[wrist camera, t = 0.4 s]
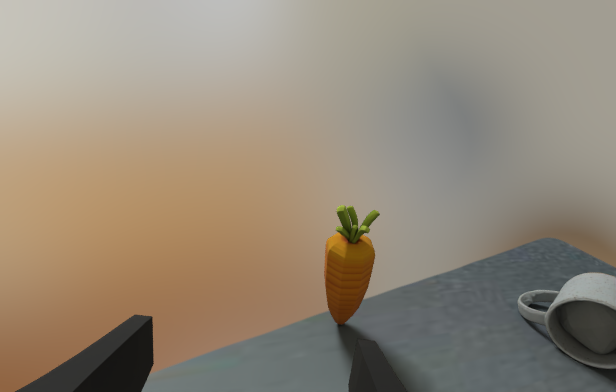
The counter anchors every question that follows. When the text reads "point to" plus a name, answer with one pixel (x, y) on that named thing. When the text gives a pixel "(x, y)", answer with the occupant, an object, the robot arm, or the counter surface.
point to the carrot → (348, 264)
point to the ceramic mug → (579, 318)
